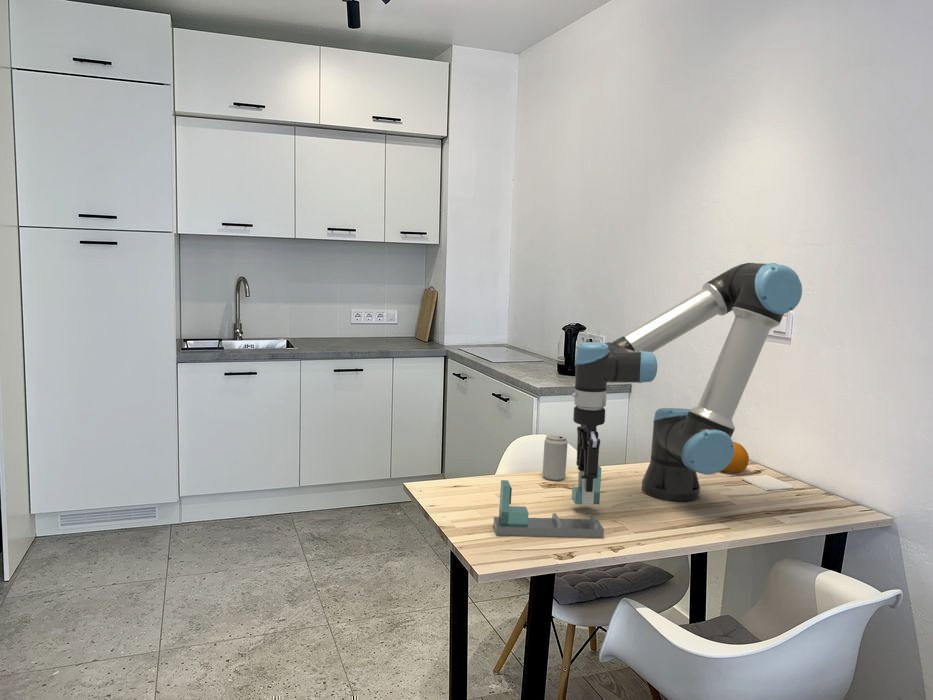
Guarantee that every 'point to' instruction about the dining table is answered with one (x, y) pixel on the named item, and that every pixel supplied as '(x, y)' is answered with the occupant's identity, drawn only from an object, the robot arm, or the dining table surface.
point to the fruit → (737, 460)
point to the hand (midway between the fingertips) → (585, 500)
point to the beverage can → (555, 457)
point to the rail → (540, 521)
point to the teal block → (597, 483)
